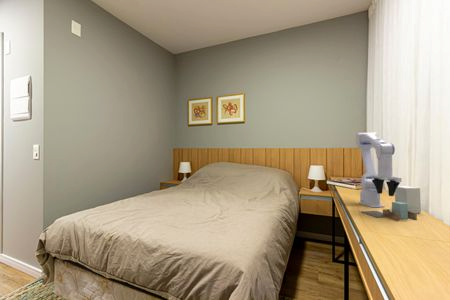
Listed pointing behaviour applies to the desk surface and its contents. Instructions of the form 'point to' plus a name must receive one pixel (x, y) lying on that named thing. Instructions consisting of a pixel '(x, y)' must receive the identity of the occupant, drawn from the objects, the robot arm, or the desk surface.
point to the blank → (400, 209)
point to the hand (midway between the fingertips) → (385, 194)
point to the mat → (374, 213)
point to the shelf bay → (398, 215)
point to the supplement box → (409, 197)
